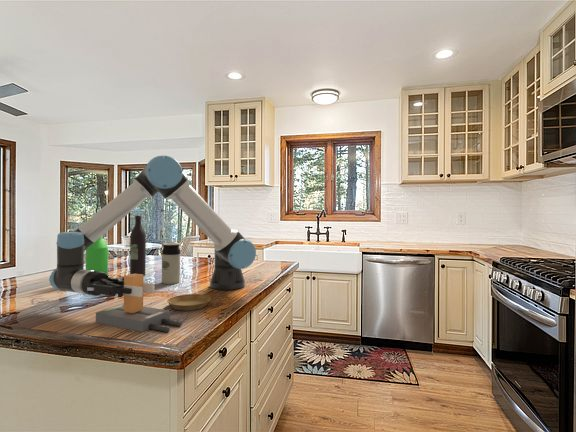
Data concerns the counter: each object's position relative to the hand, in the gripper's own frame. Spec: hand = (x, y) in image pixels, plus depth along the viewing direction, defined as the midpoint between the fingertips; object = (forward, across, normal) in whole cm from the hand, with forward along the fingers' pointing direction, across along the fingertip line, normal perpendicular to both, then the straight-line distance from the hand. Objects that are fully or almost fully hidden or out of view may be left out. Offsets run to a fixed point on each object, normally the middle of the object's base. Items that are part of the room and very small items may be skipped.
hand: (147, 290), depth 101 cm
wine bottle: (-57, -52, -10) cm, 78 cm away
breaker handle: (-5, 0, -7) cm, 9 cm away
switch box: (-2, 0, -10) cm, 10 cm away
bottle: (-63, -34, -10) cm, 72 cm away
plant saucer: (-1, -21, -10) cm, 23 cm away
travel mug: (-33, -48, -10) cm, 59 cm away
